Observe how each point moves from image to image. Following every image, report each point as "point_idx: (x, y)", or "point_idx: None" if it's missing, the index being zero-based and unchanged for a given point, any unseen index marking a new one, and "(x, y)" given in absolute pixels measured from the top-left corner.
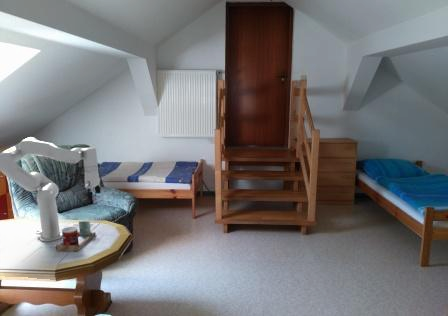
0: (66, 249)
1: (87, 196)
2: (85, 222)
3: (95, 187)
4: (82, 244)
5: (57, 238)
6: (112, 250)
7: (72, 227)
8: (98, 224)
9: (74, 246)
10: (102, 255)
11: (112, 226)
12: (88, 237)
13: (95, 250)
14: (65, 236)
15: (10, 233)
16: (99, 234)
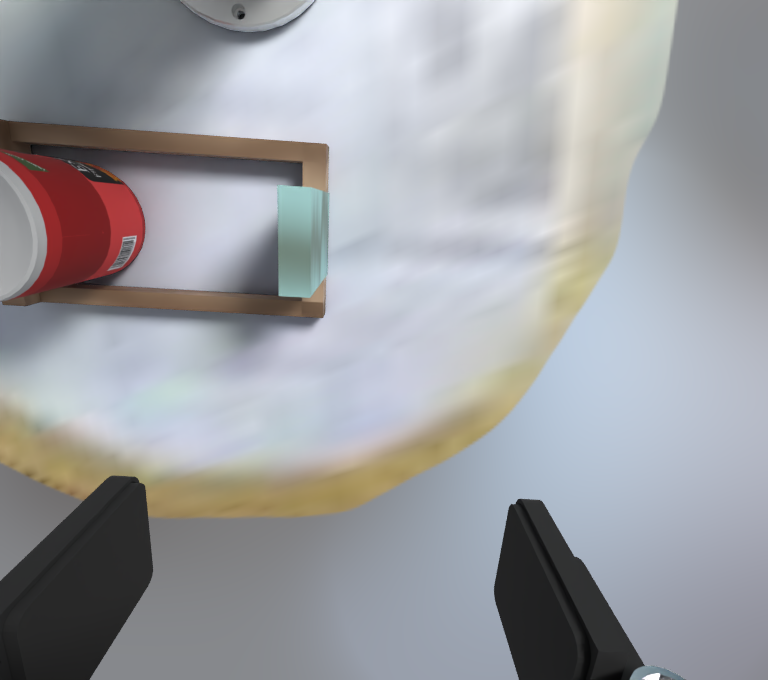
0: None
1: (84, 503)
2: (279, 264)
3: (574, 664)
4: (113, 304)
5: (196, 12)
6: None
7: (23, 231)
8: (536, 250)
9: None
10: (46, 467)
11: (488, 374)
12: (223, 303)
13: (95, 404)
14: None
15: None
16: (339, 335)
